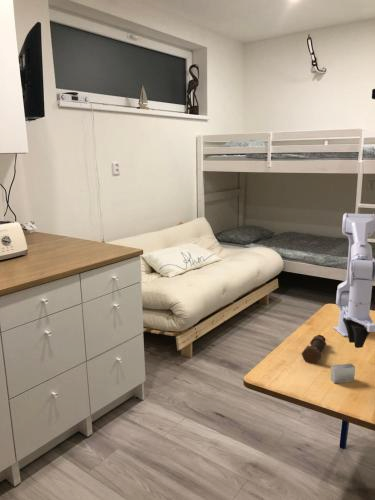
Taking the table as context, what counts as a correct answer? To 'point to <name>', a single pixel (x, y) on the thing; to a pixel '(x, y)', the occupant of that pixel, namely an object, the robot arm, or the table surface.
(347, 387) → the table surface
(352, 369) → the block
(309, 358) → the bolt
